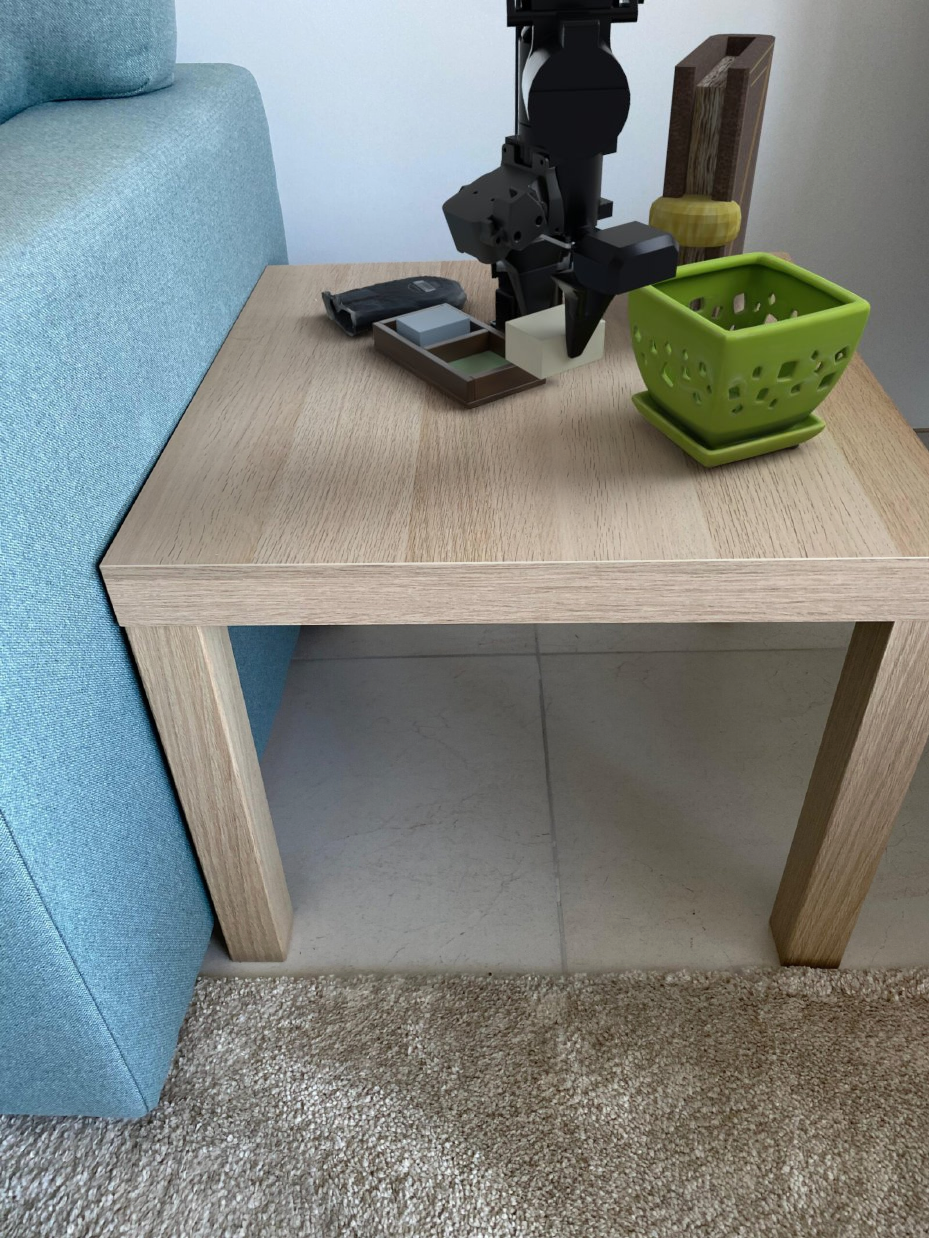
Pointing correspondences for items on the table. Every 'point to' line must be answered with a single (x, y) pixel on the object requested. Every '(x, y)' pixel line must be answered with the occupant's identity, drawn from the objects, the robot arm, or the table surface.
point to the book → (714, 147)
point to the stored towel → (433, 326)
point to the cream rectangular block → (547, 343)
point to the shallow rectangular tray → (458, 362)
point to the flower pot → (741, 354)
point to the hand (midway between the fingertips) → (554, 346)
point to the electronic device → (390, 301)
